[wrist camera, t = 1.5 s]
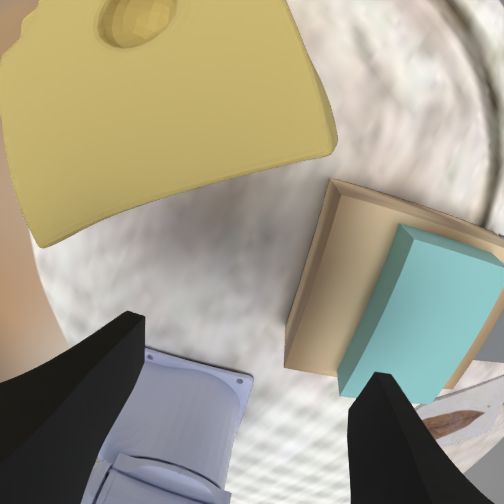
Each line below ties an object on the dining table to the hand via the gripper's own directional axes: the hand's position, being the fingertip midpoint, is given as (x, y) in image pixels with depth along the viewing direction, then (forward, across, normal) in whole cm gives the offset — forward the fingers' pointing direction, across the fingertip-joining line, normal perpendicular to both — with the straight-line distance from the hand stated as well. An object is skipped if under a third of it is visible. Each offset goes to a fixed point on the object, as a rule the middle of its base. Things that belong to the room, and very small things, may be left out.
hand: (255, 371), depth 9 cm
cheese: (+11, +6, -8) cm, 15 cm away
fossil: (+11, -20, +15) cm, 27 cm away
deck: (+10, -8, +1) cm, 13 cm away
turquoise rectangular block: (+6, -8, +1) cm, 10 cm away
